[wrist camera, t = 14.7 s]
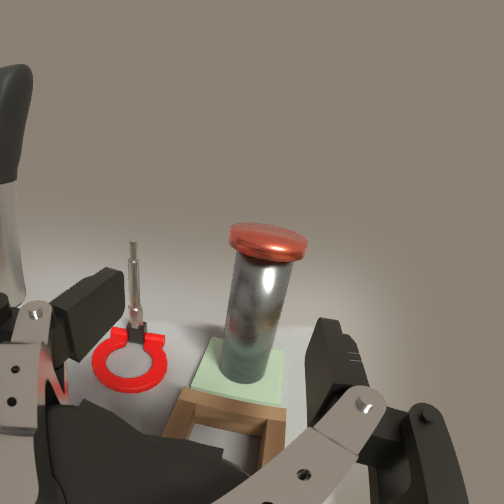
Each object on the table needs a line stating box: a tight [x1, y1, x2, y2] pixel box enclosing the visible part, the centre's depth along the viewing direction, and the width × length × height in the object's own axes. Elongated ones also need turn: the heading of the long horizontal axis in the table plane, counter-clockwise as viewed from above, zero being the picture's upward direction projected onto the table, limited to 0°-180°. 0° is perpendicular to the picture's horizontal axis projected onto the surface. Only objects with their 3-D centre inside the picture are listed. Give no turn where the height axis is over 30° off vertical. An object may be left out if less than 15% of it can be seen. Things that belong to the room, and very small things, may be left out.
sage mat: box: [191, 336, 284, 408], centre depth 28 cm, size 9×9×1 cm
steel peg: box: [220, 223, 308, 384], centre depth 26 cm, size 7×7×15 cm
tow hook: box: [92, 239, 167, 393], centre depth 24 cm, size 8×13×9 cm
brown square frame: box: [161, 387, 286, 472], centre depth 17 cm, size 9×9×3 cm
